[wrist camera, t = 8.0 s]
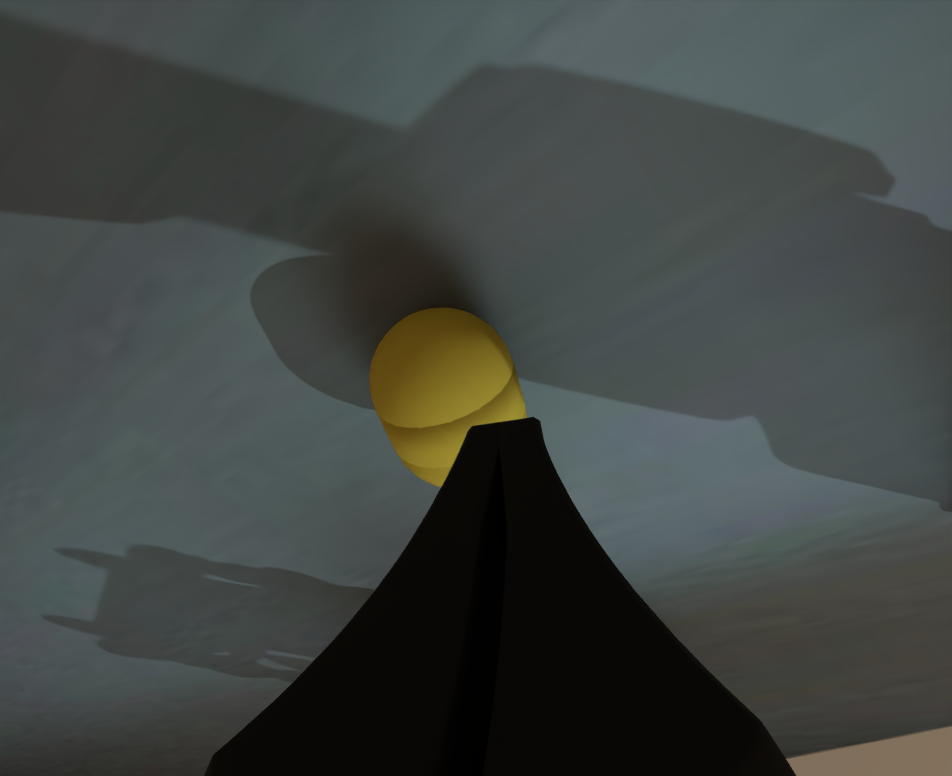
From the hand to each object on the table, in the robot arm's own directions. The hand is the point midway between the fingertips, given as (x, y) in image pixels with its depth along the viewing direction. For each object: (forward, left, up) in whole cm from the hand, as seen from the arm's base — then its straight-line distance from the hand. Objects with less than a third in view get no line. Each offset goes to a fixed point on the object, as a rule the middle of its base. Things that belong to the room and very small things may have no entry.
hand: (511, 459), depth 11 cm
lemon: (-3, +3, -9) cm, 9 cm away
